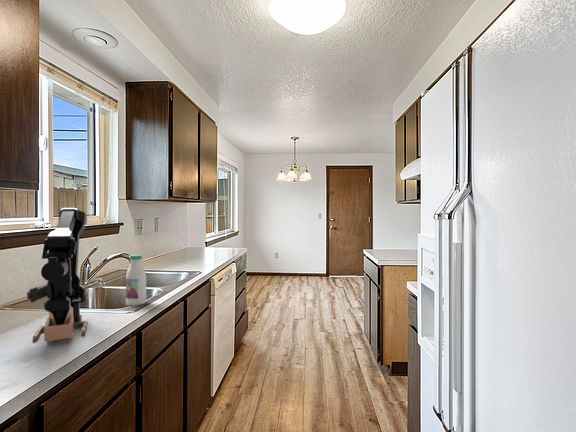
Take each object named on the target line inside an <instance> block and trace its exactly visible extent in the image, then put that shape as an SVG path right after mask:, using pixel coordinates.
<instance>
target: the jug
mask: <svg viewBox="0 0 576 432" xmlns="http://www.w3.org/2000/svg"><path fill="white" fill-rule="evenodd" d="M74 323H75V322H74V315H73V307H71V306H70V309H69V312H68V314H67V317H66V319H65V322H64V324H63V325H56V323H55V319H54V316H53V314H52V313H50V312H49V311H48V317H47V318H46V322H45V325H44V326H45V327H44V332H43V334H44V338H43V339H44V341H43V342H52V341H58V340H59V341H60V340H66V339H72V338H73V335H74V329H75V328H74Z"/></svg>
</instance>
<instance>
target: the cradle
mask: <svg viewBox="0 0 576 432" xmlns="http://www.w3.org/2000/svg"><path fill="white" fill-rule="evenodd" d="M44 327H45V325H40V326H38V328H37V329H36V330H35V332H34V334H33V336H32V342H37V341H38V340H39V338H40V336H41V335H42V333H44ZM78 328H81V331H80V332H81V336H86V333H87V329H88V321H77V322H74V329H78Z"/></svg>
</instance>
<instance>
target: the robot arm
mask: <svg viewBox="0 0 576 432" xmlns="http://www.w3.org/2000/svg"><path fill="white" fill-rule="evenodd" d="M57 221H58V222H57V224H56V228H55V229H54V230H52V231H50V232H49V233H48V235H47V238H45V239H44V242H43V249H42V256H41V259H42V260H44V259H45V260H46V259H47V262H46V263H45V264H44V265H43V266H42V267H41V270H40V274H41V276H42V278H43V279H44V280H45V281H47V282H46V283H45V284H42V285H40V286H35V287H32V288H29V290H28V291H27V292H26V296H27V297H26V298H27V299H28V300H29V302H30V303H31V304H32V303H35V302H37V301H38V300H41V299H43V298H47V300H46V301H45V302H44V311H46V312H48V313H49V312H50V313H52V314H53V316H54V319H55V323H56V325H63V324H64V322H65V319H66V317H67V314H68V312H69V309H70V306H71V307H73V315H74V323H77V322H81V320H82V317H83V316H82V315H81V312H80V307H81V306H80V304H83V303H85V302H86V301H87V293H86V289H85V288H84V285H83V282H82V280H81V279H80V277H79V276H78V268H79V267H78V266H79V265H78V264H79V249H80V236H81V235H82V234H83V233H84V231H85V227H86V225H87V224H88V215H87V213H86V212H85V211H83V210H79V208H75V207H63V208H61V209H60V211H59V212H58V220H57Z"/></svg>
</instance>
